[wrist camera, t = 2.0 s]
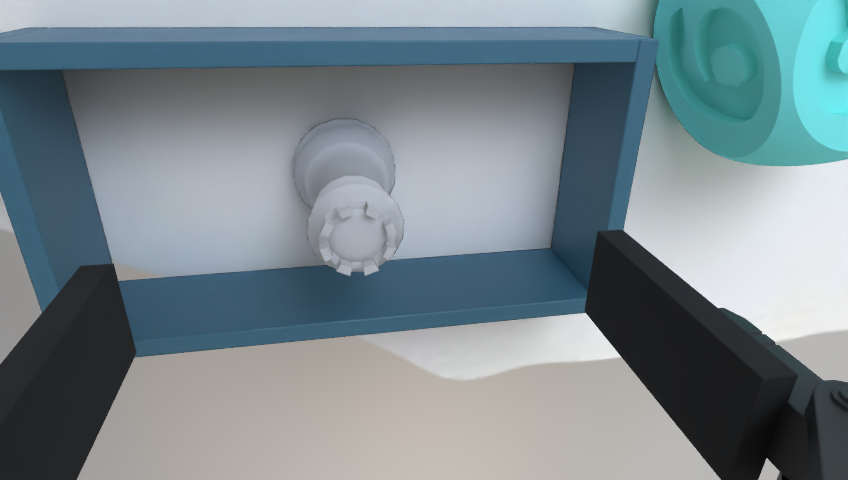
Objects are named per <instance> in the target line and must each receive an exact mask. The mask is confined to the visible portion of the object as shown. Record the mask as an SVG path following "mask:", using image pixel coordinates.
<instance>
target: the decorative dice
mask: <svg viewBox="0 0 848 480" xmlns="http://www.w3.org/2000/svg"><path fill="white" fill-rule="evenodd" d="M653 38H655V39H658V40H659V45H658V51H657V56H656V66H657V71H658V75H659V78H660V82H661V85H662V88H663V90H664V93H665V96H666V98H667V100H668V102H669V104H670V106H671V108H672V110H673V112H674V114H675V115H676V117H677V118H678V120H679V122H680V123H681V124H682V126H683V127H684V128H685V129H686V131H687V132H688V133H689V134H690V135H691V136H692V137H693V138H694V139H695V140H696V141H697V142H698V143H699V144H701V145H702V146H703V147H705V148H706V149H708V150H710V151H711V152H713V153H715V154H717V155H719V156H721V157H724V158H727V159H730V160H733V161H738V162H742V163H748V164H755V165H766V166H800V165H813V164H821V163H828V162H835V161H840V160H845V159H848V0H659V3H658V6H657V10H656V15H655V21H654V37H653Z"/></svg>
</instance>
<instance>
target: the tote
mask: <svg viewBox="0 0 848 480" xmlns="http://www.w3.org/2000/svg"><path fill="white" fill-rule="evenodd" d="M658 45H659V40H658V39H655V38H650V37H645V36H639V35H634V34H629V33H623V32H618V31H613V30H607V29H602V28H597V27H582V28H580V27H181V28H24V29H19V30H14V31H9V32H4V33H0V192H1V195H2V198H3V200H4V203H5V206H6V209H7V212H8V215H9V218H10V221H11V224H12V227H13V230H14V232H15V235H16V238H17V241H18V244H19V247H20V250H21V253H22V256H23V258H24V261H25V264H26V267H27V270H28V273H29V276H30V279H31V282H32V285H33V288H34V291H35V293H36V296H37V299H38V302H39V305H40V308H41V311H42V313H43V311H44V310H45V309H46V308H47V306H48V305H49V304H50V303H51V301H52V300H53V299H54V298H55V297H56V295H57V294H58V293H59V292H60V290H61V289H62V288H63V287H64V285H65V284H66V283H67V282H68V280H69V279H70V278H71V277H72V276H73V274H74V273H75V272H76V271H77V269H78V268H79V267H80V266H84V265H99V264H112V261H111V257H110V253H109V249H108V246H107V242H106V238H105V234H104V231H103V227H102V223H101V219H100V215H99V212H98V208H97V204H96V200H95V197H94V193H93V189H92V185H91V182H90V178H89V174H88V170H87V167H86V163H85V159H84V155H83V151H82V148H81V144H80V140H79V136H78V133H77V129H76V125H75V121H74V118H73V114H72V110H71V106H70V102H69V99H68V95H67V91H66V87H65V84H64V80H63V76H62V72H61V70H89V69H165V68H241V67H316V66H392V65H467V64H543V63H575V70H574V78H573V86H572V93H571V101H570V109H569V116H568V124H567V132H566V139H565V147H564V155H563V163H562V170H561V178H560V186H559V193H558V201H557V209H556V216H555V224H554V232H553V240H552V247H551V249H550V248H547V249H534V250H521V251H508V252H494V253H481V254H468V255H455V256H442V257H429V258H416V259H402V260H390V261H385V262H384V263H383V264H382V265H380V266H378V269H379V271H376V272H374V273H371V274H368V275H366V276H365V273H364V272H351V274H350V276H348V275H345V274H343V273H340V272H337V271H336V268H333V267H330V266H328V265H323V266H310V267H297V268H284V269H271V270H258V271H245V272H231V273H218V274H205V275H192V276H179V277H166V278H153V279H141V280H126V281H118V283H119V287H120V291H121V294H122V298H123V302H124V306H125V310H126V313H127V317H128V321H129V325H130V329H131V333H132V336H133V340H134V344H135V348H136V352H137V353H136V355H135V357H143V356H153V355H163V354H174V353H184V352H194V351H203V350H214V349H224V348H234V347H244V346H254V345H264V344H273V343H274V344H275V343H285V342H294V341H305V340H314V339H325V338H335V337H345V336H355V335H365V334H375V333H385V332H396V331H406V330H416V329H426V328H436V327H446V326H456V325H466V324H476V323H486V322H496V321H507V320H517V319H527V318H537V317H547V316H557V315H567V314H577V313H586V312H585V311H584V310H585V304H586V298H587V292H588V286H589V280H590V274H591V268H592V262H593V256H594V250H595V243H596V237H597V231H608V230H623V229H624V224H625V218H626V213H627V208H628V203H629V197H630V192H631V187H632V182H633V176H634V171H635V166H636V161H637V155H638V150H639V145H640V140H641V134H642V129H643V124H644V119H645V113H646V108H647V103H648V98H649V93H650V87H651V82H652V77H653V72H654V66H655V61H656V56H657V51H658Z"/></svg>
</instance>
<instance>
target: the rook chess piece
mask: <svg viewBox="0 0 848 480" xmlns="http://www.w3.org/2000/svg"><path fill="white" fill-rule="evenodd" d="M294 178H295V184H296V187H297V189H298V191H299V193H300V195H301V197H302V199H303V201H304V202H305V203H306V204H307V205H308V206H309V207H310V208H311V209H312V212H311V214H310V216H309V218H308V221H307V239H308V241H309V243H310V245H311V247H312V249H313V251H314V253H315V255H316V256H317V257H319V258H320V259H321V260H322V261H323V262H324V263H326V264H327V265H328V266H330V267H333V268H336V271H337V272H340V273H343V274H345V275H348V276H350V274H351V272H364V273H365V276H366V275H368V274H371V273H374V272H376V271H379V269H378V266H380V265H382V264H383V263H384V262H385V261H387V260H389V261H390V260H391V258H392V256H393V254H395V252H396V250H397V248H398V246H399V244H400V242H401V241H402V239H403V229H404V219H403V217H402V214H401V211H400V209H399V206H398V204H397V203H396V202H395V201H394V200H393V199H392V198H391V197H390V196H389V195H390V193H391V191H392V189H393V187H394V182H395V164H394V158H393V155H392V152H391V150H390V147H389V144H388V142H387V141H386V140H385V139H384V138H383V137H382V135H381V134H380V133H379V132H378V131H377V130H376V129H375V128H374V127H371V126H369V125H367V124H365V123H363V122H360V121H358V120H356V119H333V120H330V121H328V122H325V123H322V124H320V125H317V126H315V127H314V128H313V129H312V130H311V131H310V132H309V133H308V134H307V135H306V136H305V137H304V138H302V139H301V141H300V144H299V146H298V148H297V151H296V153H295V155H294Z"/></svg>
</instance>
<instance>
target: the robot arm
mask: <svg viewBox="0 0 848 480" xmlns="http://www.w3.org/2000/svg"><path fill="white" fill-rule="evenodd" d="M584 311H585V312H586V314H587V315H588V316H589V317H590V319H591V320H592V321H593V322H594V324H595V325H596V326H597V327H598V328H599V330H600V331H601V332H602V333H603V335H604V336H605V337H606V338H607V340H608V341H609V342H610V343H611V344H612V346H613V347H614V348H615V349H616V351H617V352H618V353H619V354H620V356H621V357H622V358H623V359H624V360H625V362H626V363H627V364H628V365H629V367H630V368H631V369H632V370H633V372H634V373H635V374H636V375H637V376H638V378H639V379H640V380H641V382H642V383H643V384H644V385H645V386H646V388H647V389H648V390H649V391H650V393H652V395H653V396H654V398H655V399H656V400H657V401H658V402H659V404H660V405H661V406H662V407H663V408H664V410H665V411H666V412H667V414H668V415H669V416H670V417H671V418H672V420H673V421H674V422H675V423H676V425H677V426H678V427H679V428H680V430H681V431H682V432H683V433H684V434H685V436H686V437H687V438H688V439H689V441H690V442H691V443H692V444H693V446H694V447H695V448H696V449H697V451H698V452H699V453H700V454H701V456H702V457H703V458H704V459H705V460H706V462H707V463H708V464H709V465H710V466H711V468H712V469H713V470H714V472H715V473H716V474H717V475H718V476H719V477H720V479H721V480H758V478H759V476H760V473H761V471H762V468H763V466H764V463H765V460H766V458H768V459H769V460H770V461H771V463H772V464H773V465H774V466H775V467H776V468H777V469H778V470H779V471H780V473H779V476H778V478H777V480H848V382H842V381H837V380H829V381H828V380H827V381H824V380H822V379H821V378H820V377H818V376H817V375H816V374H815V373H813V372H812V371H811V370H809V369H808V368H807V367H806V366H805V365H803V364H802V363H801V362H799V361H798V360H797V359H796V358H794V357H793V356H792V355H791V354H789V353H788V352H787V351H786V350H784V349H783V348H782V347H781V346H779V345H775V342H774V341H773V340H772V339H770V338H769V337H768V336H767V335H765V334H762V331H760V330H759V329H758V328H757V327H755V326H754V325H753V324H751V323H750V322H749V321H748V320H746V319H745V318H743V317H741V316H739V315H737V314H735V313H733V312H731V311H729V310H727V309H725V308H717V307H716V306H714V305H713V304H712V303H711V302H709V301H708V300H707V299H706V298H705V297H703V296H702V295H701V294H700V293H699V292H697V291H696V290H695V289H694V288H692V287H691V286H690V285H689V284H688V283H686V282H685V281H684V280H683V279H681V278H680V277H679V276H678V275H677V274H675V273H674V272H673V271H672V270H670V269H669V268H668V267H667V266H666V265H664V264H663V263H662V262H661V261H659V260H658V259H657V258H656V257H655V256H653V255H652V254H651V253H650V252H648V251H647V250H646V249H645V248H644V247H642V246H641V245H640V244H639V243H637V242H636V241H635V240H634V239H633V238H631V237H630V236H629V235H628V234H627V233H625V232H624V231H623V230H608V231H597V237H596V243H595V250H594V256H593V262H592V268H591V274H590V280H589V286H588V292H587V298H586V304H585V310H584ZM136 353H137V352H136V348H135V344H134V340H133V336H132V333H131V329H130V325H129V321H128V317H127V313H126V310H125V306H124V302H123V298H122V294H121V291H120V287H119V283H118V279H117V275H116V272H115V268H114V264H99V265H84V266H80V267H79V268H78V269H77V271H76V272H75V273H74V274H73V276H72V277H71V278H70V279H69V280H68V282H67V283H66V284H65V285H64V287H63V288H62V289H61V290H60V292H59V293H58V294H57V295H56V297H55V298H54V299H53V300H52V301H51V303H50V304H49V305H48V306H47V308H46V309H45V310H44V311H43V313H42V314H41V315H40V316H39V318H38V319H37V320H36V321H35V323H34V324H33V325H32V326H31V327H30V329H29V330H28V331H27V332H26V334H25V335H24V336H23V337H22V338H21V340H20V341H19V342H18V344H17V345H16V346H15V347H14V348H13V350H12V351H11V352H10V353H9V355H8V356H7V357H6V358H5V360H4V361H3V362H2V363H1V364H0V480H77V477H78V475H79V473H80V471H81V469H82V467H83V465H84V463H85V461H86V459H87V456H88V454H89V452H90V450H91V448H92V446H93V444H94V442H95V440H96V437H97V435H98V433H99V431H100V429H101V427H102V425H103V423H104V421H105V418H106V416H107V414H108V412H109V410H110V408H111V406H112V403H113V401H114V399H115V397H116V395H117V393H118V391H119V389H120V387H121V385H122V382H123V380H124V378H125V376H126V374H127V372H128V370H129V368H130V366H131V363H132V361H133V359H134V357H135V355H136Z"/></svg>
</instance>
